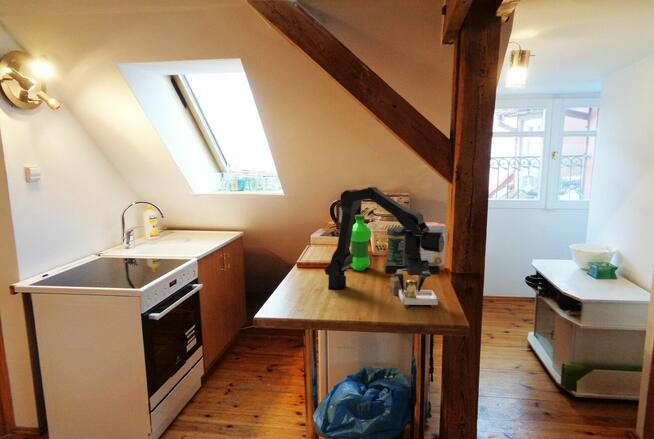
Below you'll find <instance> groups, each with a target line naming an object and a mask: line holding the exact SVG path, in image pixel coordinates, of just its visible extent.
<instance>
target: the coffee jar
mask: <svg viewBox="0 0 654 439" xmlns="http://www.w3.org/2000/svg"><path fill="white" fill-rule="evenodd" d="M403 228H404V227H403V226H395V227H394V226H393V227H389V228H388V229H387V232H386V233H387V234H386V236H387V252H386V260H385V262H395V263H396V265H403V258H404V235H398V233H399V232H401V231H402V229H403Z"/></svg>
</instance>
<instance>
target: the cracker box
mask: <svg viewBox="0 0 654 439" xmlns="http://www.w3.org/2000/svg"><path fill="white" fill-rule="evenodd" d="M425 223H426V222H425ZM426 225H427V227H428V228H429V230H430V231H432V232H442V236H443V238H444V248H443V251H442V252H441V253H440V252H433V251H425V250H424V249H423V248H421V260H428V262H436V263H437V264H438V266H439V267H440V271H445V263H446V262H445V261H446V237H447V236H446V231H447V225H446V224H445V223H433V222H432V223H431V222H429V223H428V222H427V223H426ZM419 229H420V228H419Z"/></svg>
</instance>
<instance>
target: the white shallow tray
mask: <svg viewBox="0 0 654 439" xmlns="http://www.w3.org/2000/svg"><path fill="white" fill-rule="evenodd" d="M398 297H399V299H400V302H401V304H402V305H403V306H404V307H405V308H409V306H410V305H413V306H414V305H417V306H418V305H421V306H423V305H425V306H427V305H428V306H429V305H430V307H431V308H432V309H434V308H435V306H438V305H439V298H438V297H437V296H436V294H435V292H434V291H433V290H432V289H420V292H418V289H417V293H416V299H413V298H405V290H404V292H402V290H399V295H398Z"/></svg>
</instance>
